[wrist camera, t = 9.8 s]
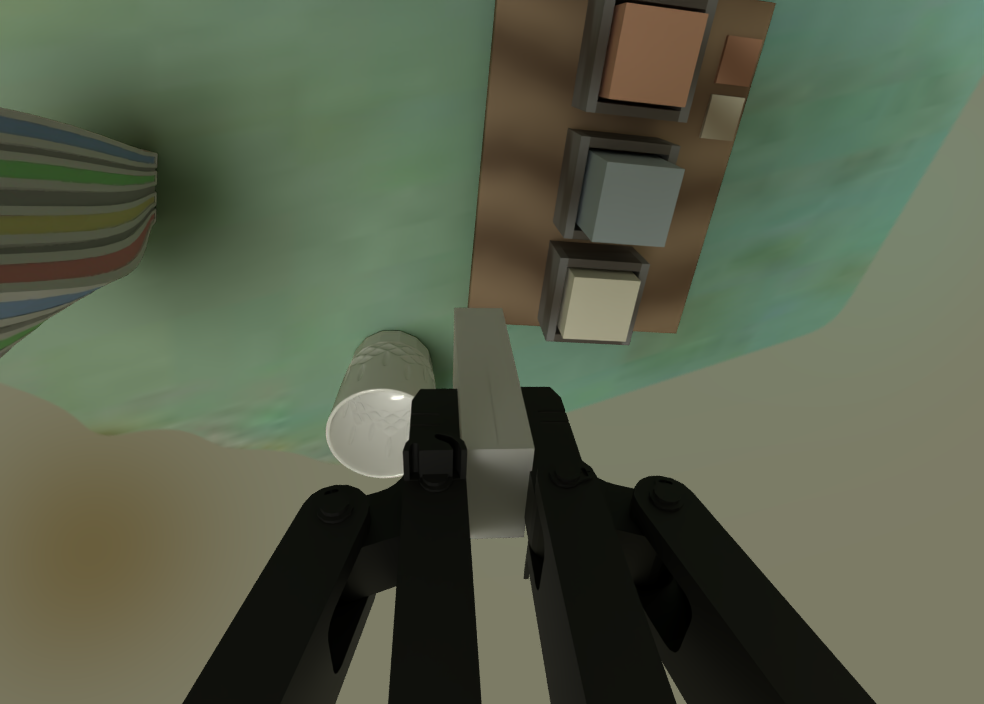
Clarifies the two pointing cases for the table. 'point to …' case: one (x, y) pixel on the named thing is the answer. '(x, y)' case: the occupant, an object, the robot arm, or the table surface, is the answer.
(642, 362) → the table surface
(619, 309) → the cream key
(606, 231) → the slate key
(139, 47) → the table surface
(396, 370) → the white cup
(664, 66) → the terracotta key
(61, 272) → the vase
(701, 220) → the board
